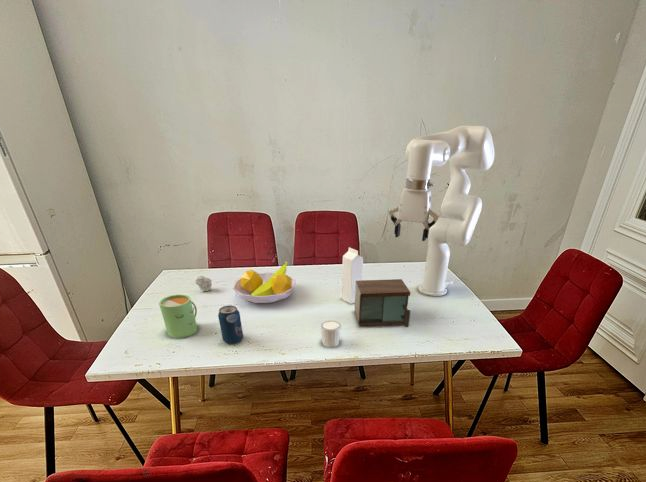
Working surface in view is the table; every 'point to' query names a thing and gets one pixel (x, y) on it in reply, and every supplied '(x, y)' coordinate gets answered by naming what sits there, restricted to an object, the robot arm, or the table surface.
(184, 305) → the mug
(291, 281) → the fruit bowl
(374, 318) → the cabinet
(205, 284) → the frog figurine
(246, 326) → the table surface
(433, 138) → the robot arm
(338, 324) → the shot glass
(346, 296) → the milk
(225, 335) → the soda can
